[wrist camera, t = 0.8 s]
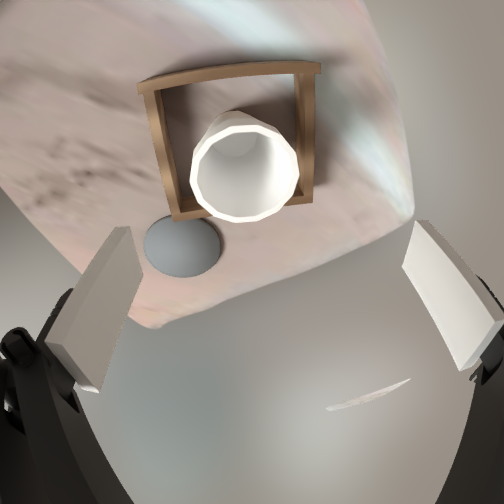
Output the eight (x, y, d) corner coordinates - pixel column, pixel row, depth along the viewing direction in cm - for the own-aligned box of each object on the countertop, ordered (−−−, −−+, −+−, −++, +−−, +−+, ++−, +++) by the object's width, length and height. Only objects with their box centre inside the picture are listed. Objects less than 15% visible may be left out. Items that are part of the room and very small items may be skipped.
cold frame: (148, 78, 27) (136, 83, 22) (302, 60, 28) (320, 63, 23) (175, 206, 39) (172, 231, 34) (304, 188, 40) (317, 210, 35)
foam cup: (271, 98, 31) (303, 124, 21) (270, 164, 37) (295, 218, 27) (192, 102, 30) (183, 130, 20) (198, 170, 36) (195, 226, 26)
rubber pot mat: (134, 221, 40) (133, 224, 39) (213, 208, 40) (213, 211, 40) (156, 278, 47) (156, 281, 47) (224, 268, 48) (225, 272, 47)
